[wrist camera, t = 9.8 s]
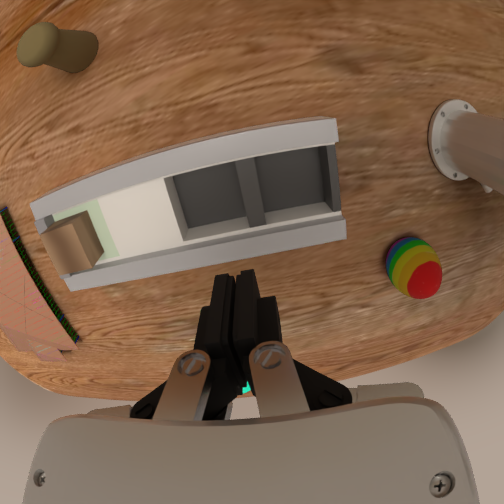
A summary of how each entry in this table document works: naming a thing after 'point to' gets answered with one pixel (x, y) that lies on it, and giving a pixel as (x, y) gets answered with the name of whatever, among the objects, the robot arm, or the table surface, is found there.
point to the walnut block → (72, 243)
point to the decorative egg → (414, 268)
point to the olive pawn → (57, 47)
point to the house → (28, 307)
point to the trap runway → (206, 201)
